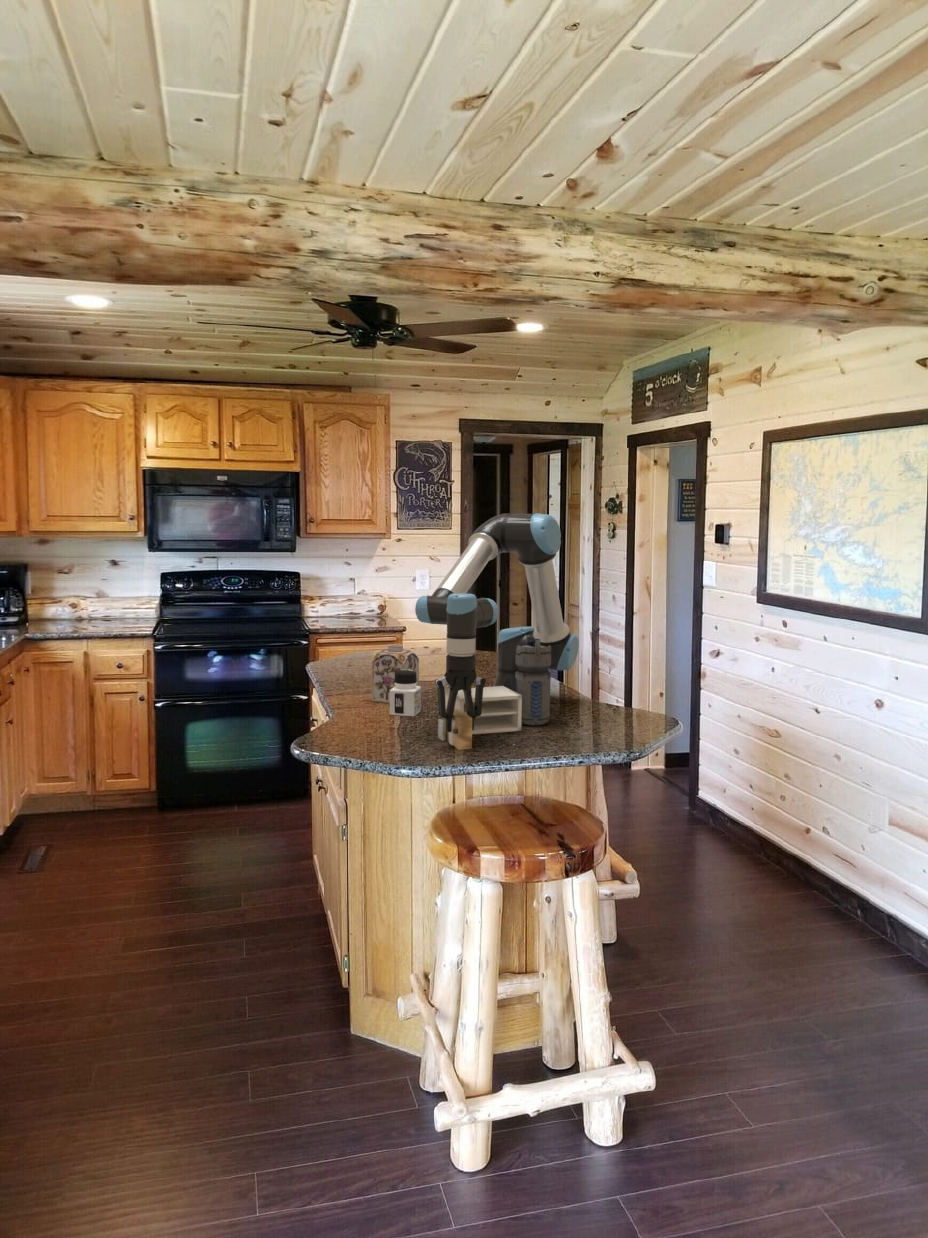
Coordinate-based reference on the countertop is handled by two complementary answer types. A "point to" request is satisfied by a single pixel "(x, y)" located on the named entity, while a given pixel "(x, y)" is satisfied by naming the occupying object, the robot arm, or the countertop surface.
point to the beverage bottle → (533, 681)
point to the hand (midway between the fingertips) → (459, 743)
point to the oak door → (461, 730)
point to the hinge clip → (441, 729)
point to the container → (405, 694)
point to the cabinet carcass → (493, 709)
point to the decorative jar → (391, 670)
